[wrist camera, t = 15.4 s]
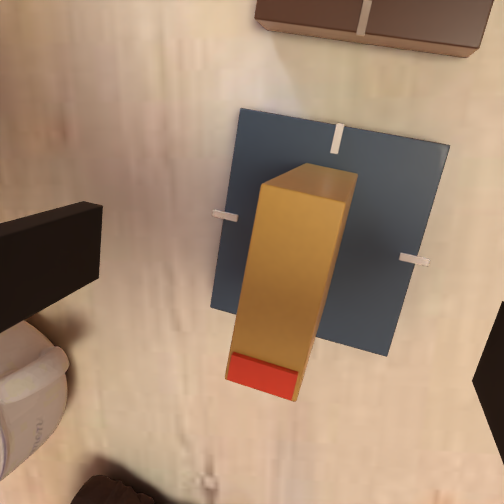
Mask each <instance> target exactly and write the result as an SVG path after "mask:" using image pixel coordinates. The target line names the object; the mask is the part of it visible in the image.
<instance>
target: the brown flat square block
mask: <svg viewBox="0 0 504 504" xmlns="http://www.w3.org/2000/svg"><path fill="white" fill-rule="evenodd" d="M493 1H494V0H257V4H256V11H255V17H254V18H255V20H256V21H258V22H259V23H260V24H261V25H262V26H263V27H264V28H265V29H266V30H270V31H277V32H284V33H292V34H299V35H306V36H313V37H320V38H328V39H335V40H342V41H349V42H357V43H364V44H371V45H378V46H386V47H393V48H400V49H407V50H415V51H422V52H429V53H436V54H443V55H451V56H458V57H465V58H467V57H469V56H470V55H472V54H473V53H474V52H475V51H477V50H478V49H479V48H480V45H481V41H482V38H483V35H484V31H485V28H486V25H487V21H488V18H489V15H490V11H491V8H492V5H493Z"/></svg>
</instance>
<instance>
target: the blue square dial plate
mask: <svg viewBox="0 0 504 504" xmlns="http://www.w3.org/2000/svg"><path fill="white" fill-rule="evenodd" d="M449 148H450V145H446V144H442V143H436V142H430V141H425V140H419V139H413V138H408V137H402V136H397V135H391V134H385V133H380V132H374V131H369V130H363V129H357V128H352V127H346V126H344V124H341V123H337V124H336V125H335V124H329V123H324V122H318V121H312V120H307V119H301V118H295V117H290V116H284V115H279V114H273V113H267V112H262V111H256V110H250V109H244V108H241V109H240V115H239V121H238V128H237V134H236V141H235V147H234V154H233V161H232V167H231V174H230V180H229V187H228V193H227V200H226V206H225V212H223V211H219V210H215V209H214V210H213V212H212V216H213V217H218V218H222V219H224V220H223V226H222V233H221V239H220V246H219V252H218V259H217V266H216V272H215V279H214V285H213V292H212V298H211V305H210V307H211V308H214V309H218V310H222V311H225V312H229V313H232V314H236V315H237V310H238V304H239V299H240V294H241V289H242V283H243V278H244V273H245V267H246V262H247V257H248V252H249V246H250V241H251V236H252V230H253V225H254V220H255V214H256V209H257V204H258V199H259V193H260V188H261V185H262V183H265V182H267V181H269V180H271V179H273V178H275V177H277V176H280V175H282V174H284V173H286V172H288V171H290V170H292V169H295V168H297V167H299V166H301V165H303V164H305V163H309V164H314V165H319V166H323V167H328V168H333V169H337V170H342V171H347V172H351V173H356V174H358V178H357V182H356V186H355V189H354V193H353V197H352V201H351V205H350V209H349V213H348V217H347V221H346V225H345V229H344V232H343V236H342V240H341V244H340V248H339V252H338V256H337V260H336V264H335V268H334V271H333V275H332V279H331V283H330V287H329V291H328V295H327V299H326V303H325V306H324V310H323V313H322V316H321V320H320V323H319V326H318V330H317V333H316V337H318V338H322V339H325V340H329V341H332V342H336V343H340V344H343V345H347V346H350V347H354V348H358V349H361V350H365V351H368V352H372V353H375V354H379V355H383V356H387V355H388V352H389V349H390V345H391V342H392V339H393V335H394V332H395V329H396V325H397V322H398V319H399V315H400V312H401V309H402V305H403V302H404V299H405V295H406V292H407V289H408V285H409V282H410V279H411V275H412V272H413V269H414V265H415V264H418V265H423V266H427V267H428V266H429V263H430V259H427V258H423V257H419V256H417V255H418V252H419V249H420V245H421V242H422V239H423V235H424V232H425V229H426V225H427V222H428V219H429V215H430V212H431V209H432V205H433V202H434V199H435V195H436V192H437V189H438V185H439V182H440V179H441V175H442V172H443V168H444V165H445V162H446V158H447V155H448V152H449Z"/></svg>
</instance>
